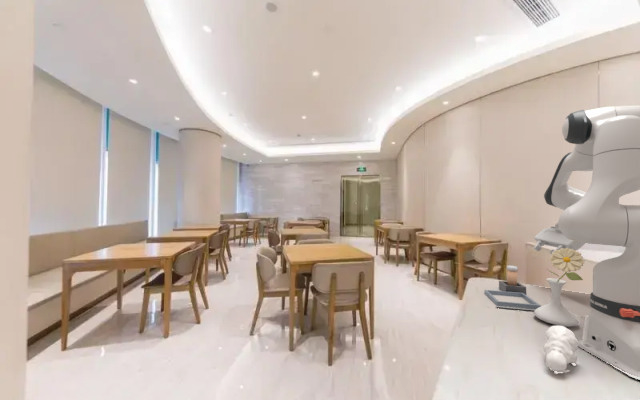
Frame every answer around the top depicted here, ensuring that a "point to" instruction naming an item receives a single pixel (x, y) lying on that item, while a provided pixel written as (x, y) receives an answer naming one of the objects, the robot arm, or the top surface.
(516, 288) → the socket block
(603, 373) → the top surface
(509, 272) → the tan bottle
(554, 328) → the white lumpy oval piece
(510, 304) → the parts tray
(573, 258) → the flower in vase
